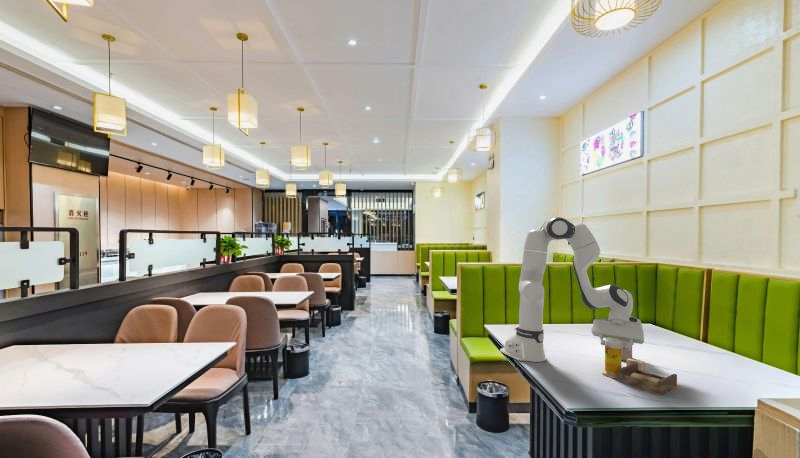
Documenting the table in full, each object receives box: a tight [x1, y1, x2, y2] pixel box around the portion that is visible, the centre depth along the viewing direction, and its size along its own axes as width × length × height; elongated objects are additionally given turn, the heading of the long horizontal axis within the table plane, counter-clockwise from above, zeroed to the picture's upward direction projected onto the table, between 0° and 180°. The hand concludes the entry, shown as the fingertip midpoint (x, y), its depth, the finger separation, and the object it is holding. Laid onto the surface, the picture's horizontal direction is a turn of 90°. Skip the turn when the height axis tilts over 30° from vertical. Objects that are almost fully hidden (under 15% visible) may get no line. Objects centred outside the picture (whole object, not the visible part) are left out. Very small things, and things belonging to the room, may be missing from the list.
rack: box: [618, 363, 678, 396], centre depth 140 cm, size 15×14×5 cm
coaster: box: [601, 369, 619, 380], centre depth 149 cm, size 8×8×1 cm
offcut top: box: [626, 358, 645, 371], centre depth 158 cm, size 6×4×3 cm
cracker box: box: [620, 340, 633, 362], centre depth 174 cm, size 14×6×21 cm, turn 168°
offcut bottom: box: [631, 373, 660, 385], centre depth 137 cm, size 9×4×4 cm, turn 41°
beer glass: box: [604, 337, 623, 376], centre depth 149 cm, size 6×6×15 cm
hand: (614, 346), depth 151 cm, fingers open, 8 cm apart
